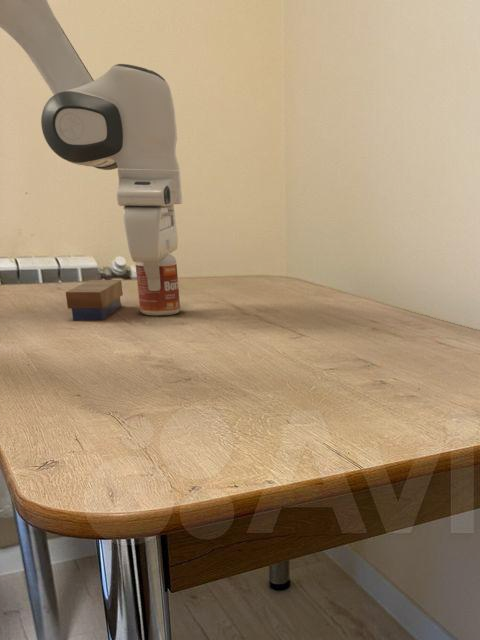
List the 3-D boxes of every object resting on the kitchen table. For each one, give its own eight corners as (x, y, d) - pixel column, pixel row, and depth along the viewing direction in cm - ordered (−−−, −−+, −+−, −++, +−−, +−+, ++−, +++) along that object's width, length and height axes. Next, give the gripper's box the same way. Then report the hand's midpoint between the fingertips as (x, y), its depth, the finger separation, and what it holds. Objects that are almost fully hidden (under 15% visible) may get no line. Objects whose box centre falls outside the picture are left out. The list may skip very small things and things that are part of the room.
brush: (103, 321, 105) (100, 292, 104) (69, 320, 105) (65, 292, 103) (124, 306, 117) (121, 280, 116) (93, 306, 117) (89, 279, 115)
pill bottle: (173, 317, 109) (166, 241, 105) (134, 315, 109) (126, 240, 105) (185, 310, 115) (180, 238, 110) (148, 308, 115) (141, 237, 111)
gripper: (143, 189, 114) (151, 277, 120) (113, 192, 95) (124, 296, 101) (182, 190, 115) (189, 277, 120) (160, 193, 96) (169, 296, 101)
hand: (159, 286), depth 110 cm, fingers closed on pill bottle, 6 cm apart
